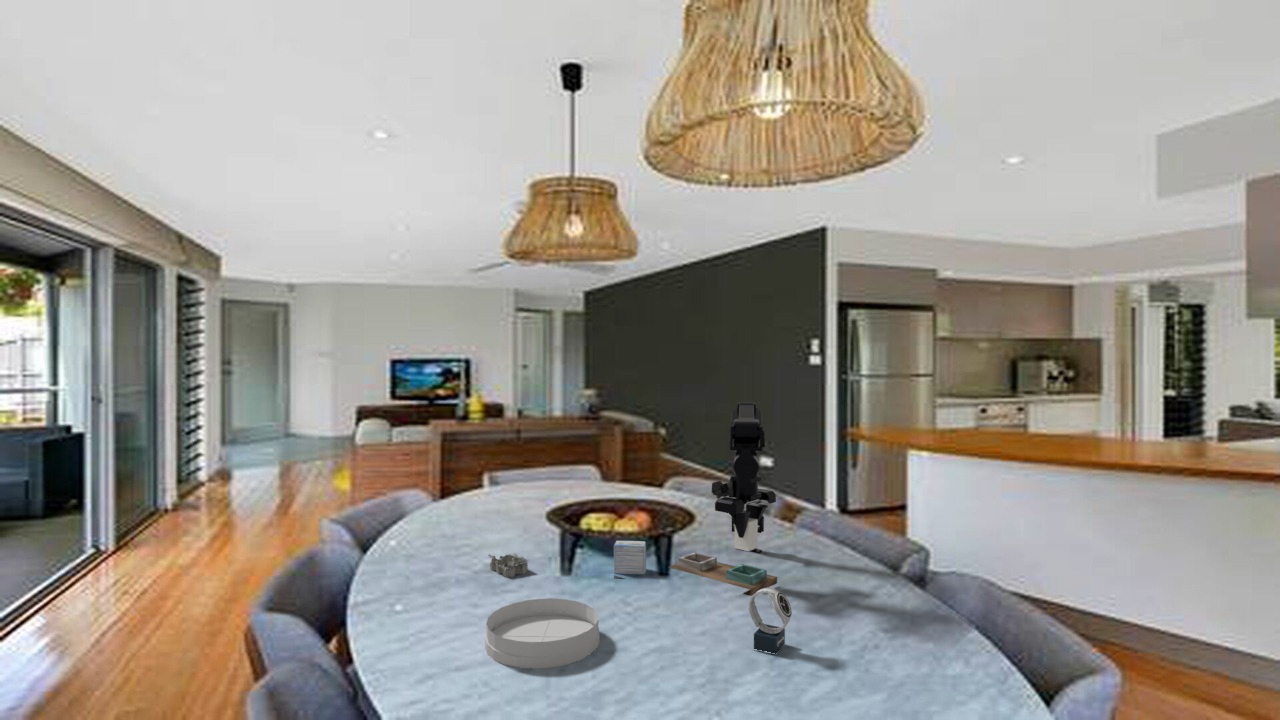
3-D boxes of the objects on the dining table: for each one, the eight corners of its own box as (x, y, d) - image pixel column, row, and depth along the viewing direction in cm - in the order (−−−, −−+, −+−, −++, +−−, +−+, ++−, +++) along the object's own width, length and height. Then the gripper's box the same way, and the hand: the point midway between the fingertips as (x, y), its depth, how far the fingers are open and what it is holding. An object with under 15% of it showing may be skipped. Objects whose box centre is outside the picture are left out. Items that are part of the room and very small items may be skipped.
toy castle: (486, 569, 177) (486, 553, 177) (512, 563, 182) (512, 548, 182) (505, 579, 169) (504, 563, 169) (531, 573, 174) (531, 557, 174)
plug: (743, 544, 168) (743, 516, 168) (757, 547, 165) (757, 519, 165) (734, 548, 165) (734, 519, 165) (748, 551, 162) (748, 522, 162)
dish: (500, 620, 143) (500, 597, 143) (604, 622, 142) (604, 598, 142) (471, 669, 121) (471, 641, 121) (593, 671, 120) (593, 643, 120)
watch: (785, 657, 125) (786, 598, 125) (745, 648, 129) (745, 590, 129) (794, 646, 130) (795, 589, 130) (755, 637, 134) (755, 582, 134)
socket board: (696, 562, 183) (696, 549, 183) (777, 583, 166) (777, 568, 166) (668, 572, 174) (668, 559, 174) (750, 595, 157) (750, 580, 157)
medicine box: (646, 574, 172) (646, 541, 172) (644, 580, 168) (644, 545, 168) (615, 573, 173) (615, 540, 173) (613, 579, 169) (613, 544, 169)
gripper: (740, 464, 177) (739, 523, 177) (696, 473, 163) (696, 537, 163) (777, 469, 170) (776, 530, 170) (735, 478, 156) (735, 546, 156)
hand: (746, 535), depth 165 cm, fingers closed on plug, 4 cm apart
